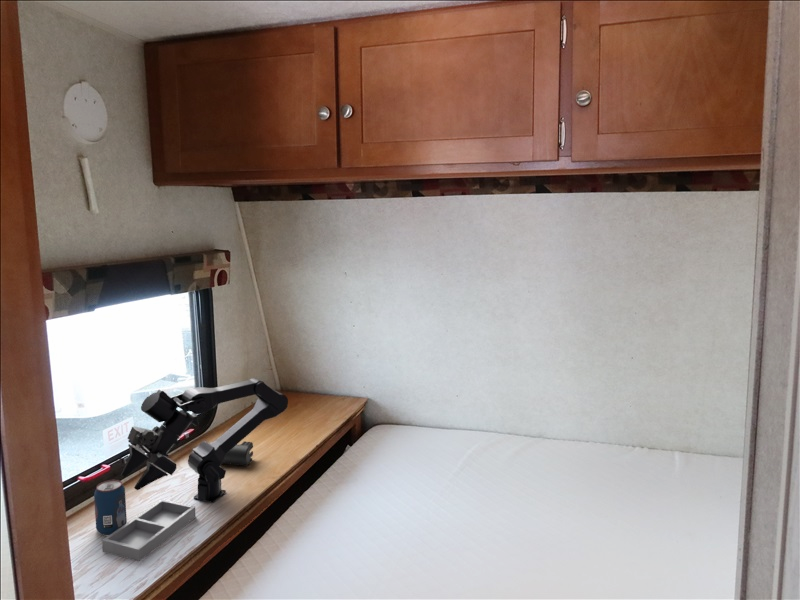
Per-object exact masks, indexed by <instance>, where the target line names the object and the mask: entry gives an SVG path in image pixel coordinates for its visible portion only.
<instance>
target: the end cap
mask: <svg viewBox="0 0 800 600" xmlns="http://www.w3.org/2000/svg"><path fill="white" fill-rule="evenodd" d="M253 448H254V443H253V442H252V441H243V442H241V444H240V443H239V444H237V445H236V446H235V447H233V448H232V449H231V450H230V451H229V452H228V453H227V454H226V455H225V457H224V459H223V462H222V464H221V465H233V466H243V465H244V466H243V467H245V466H246V467H247V466H249V465H250V464H251V463H252V462H253V456H254V451H253V450H252V449H253ZM251 461H252V462H251ZM250 462H251V463H250ZM248 464H249V465H248Z"/></svg>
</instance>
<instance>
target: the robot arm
mask: <svg viewBox="0 0 800 600" xmlns="http://www.w3.org/2000/svg"><path fill="white" fill-rule="evenodd" d="M254 395H255V397H257V399H256V402H255V404H254V406H253V408H252V409H251V410H249V412H247V413H246V414H245V415H244V416H242V418H240V419H239V420H238V421H237V422H236V423H234V424H233V425H231V427H230V428H228V429H227V430H226V431H224V433H223V434H221V435H220V436H219V437H218V438H216V439H215V440H213V441H211V442H208V441H206V440H203V441H201V442H200V443H199V444H198V446H196V447H194V448H192V449H191V452H190V453H189V455H188V460H187V464H188V466H189V468H191V470H193V471H194V472H195V473H196V474H198V478H197V493H196V494H195V495H194V496H193V499H195V500H198V501H199V500H200V501H202V502H203V501H204V502H207V503H214V502H216V501H217V500H218V499H220V498H221V497H222V496H223V495H225V494H226V493H227V490H225V489H223V488H222V480H223V479H224V478H225V476H226V473H227V470H226V469H224V468H223V467H222V465H223V464H222V462H223V459H224V457H225V455H226V454H227V453H228V452H229V451H230V450H231V449H232V448H233V447H235V446H236V445H239V444H240V443H241V441H243V440H244V439H245V438H246V437H247V436H249V435H250V434H251V433H252V432H253V431H254V430H255V429H256V428H258V427H259V426H260V425H261V424H262V423H264V422H265V421H267V420H270V419H273V418H276V417H278V416H279V415H281V414H282V413H284V412H285V411H286V410H287V408H288V405H289V398H288V396H287V395H286V394H283V393H281V392H279V391H277V390H275V389H272V388H271V387H270V386H269V385H267V384H266V383H265V382H264V381H262V380H261V379H258V378H256V377H252V378H250V379H248V380H247V379H246V380H243V381H239V382H238V381H237V382H235V383H231V384H225V385H221V386H216V387H202V386H201V387H200V386H199V387H189V388H186V389H185V390H184V391H183V392H181V393H179V394H177V395H173V396H169V395H168V394H167V393H166V392H165V391H164V390H162V389H161V388H159V389H158V390H156V392H153V393H151V394H150V395H149V396H147V397H146V398H145V399H144V400H143V401H142V403H141V407H140V409H141V411H142V412H144V413H145V414H146V415H148V416H149V417H150V418H152V419H153V420H155V421H156V422H158V423H162V424H161V425H160V426H158V425H156V426H154V427H153V428H152V429H148V428H144V427H138V426H134V425H133V426H131V429H130V431H129V433H128V436H127V441H128V448H129V455H128V456H127V457H128V458H127V460H126V462H125V465H124V467H123V470H122V471H121V473H120V474H121V476H122V477H126V476H128V475H129V474H131V473H132V472H133V471H134V470H136V469H137V468H138V467H139V466H140V465H142V464H143V463H145V462H146V469H144V472H143V473H142V474H141V476H140V478H139V479H138V480H137V482H136V484H135V486H134V487H133V488H134V490H135V491H140V490H141V489H143V488H144V487H147V486H148V485H149V484H151V483H154V482H155V481H157V480H160V479H162V478H163V477H168V476H169V475H171V476H173V474H174V473H175V472H176V470H177V463H176V462H174V461H173V460H172V459H171V458H169V456H170V455H169V454H168V453H169V451H170V450H171V448H173V447H174V445H176V446H178V445H179V444H180V443H181V442H180V441H179V439H180V437H181V436H182V435H183V434H184V433H185V431H186V430H187V429H188V428H189V426H190V425H191V424H193V425H194V426H195V427H199V416H198V415H201V414H204V413H205V412H208V411H211V410H212V409H215V407H217V405H220V404H222V403H227V402H232V401H235V400H239V399H242V398H248V397H250V396H254ZM178 408H179V409H180V410H178ZM189 412H192V413H193V414H192V413H189ZM149 457H150V458H149ZM148 459H149V460H148Z"/></svg>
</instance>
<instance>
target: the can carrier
mask: <svg viewBox="0 0 800 600" xmlns="http://www.w3.org/2000/svg"><path fill="white" fill-rule="evenodd" d="M195 518H197V517H196V506H193V505H190V504H185V503H182V502H177V501H176V502H175V501H173V500H167V499H160V500H159V501H157V502H156V503H154V504H153V505H151V506H150V507H148V508H147V509H145V510H144V511H142V512H141V513H140V514H138V515H136V516H135V517H134V518H132V519H131V520H129V521H127V523H126V524H125V525H123V526H122V527H121V528H119V529H118V530H116V531H115V532H113V533H112V534H110V535H108V536H106V537H105V538H103V539H101V543H102V547H101V548H102V553H106V554H110V555H114V556H117V557H122V558H125V559H129V560H132V561H137V562H141V561H142V560H143V559H145V557H147V556H149V554H151V553H152V552H153V551H154V550H156V549H158V547H160V546H161V545H163V543H165V542H166V541H167V540H170V538H172V537H173V536H174V535H176V533H178V532H179V531H180V530H181V529H183V528H184V527H186V525H188V524H189V523H191V521H193V520H194V519H195Z"/></svg>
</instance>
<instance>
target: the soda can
mask: <svg viewBox="0 0 800 600" xmlns="http://www.w3.org/2000/svg"><path fill="white" fill-rule="evenodd" d="M93 501H94V515H95V529H96V531H97V532H98V533H99V534H100V535H102V536H106V535H108V536H109V535H110V534H112V533H113V532H115V531H116V530H118V529H119V528H121V527H122V526H123V525H125V524H126V523H128V521H127V519H128V518H127V502H126V501H127V500H126V488H125V486H124V485H123V482H122V481H121V480H119V479H109V480H105V481H102V482H100V483H98V484H97V485H96V489H95V491H94V493H93Z"/></svg>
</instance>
